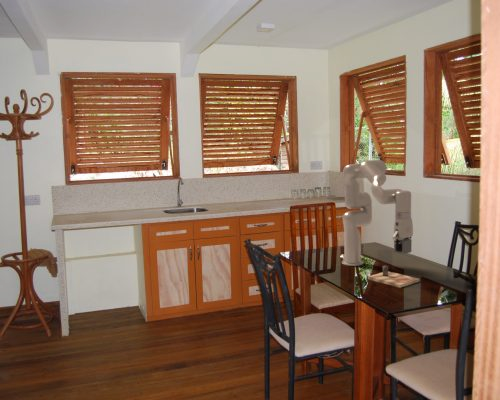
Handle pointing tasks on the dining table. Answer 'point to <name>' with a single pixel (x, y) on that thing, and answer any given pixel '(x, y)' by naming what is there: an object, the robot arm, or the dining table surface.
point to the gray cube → (404, 246)
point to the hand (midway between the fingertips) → (402, 249)
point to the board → (393, 278)
